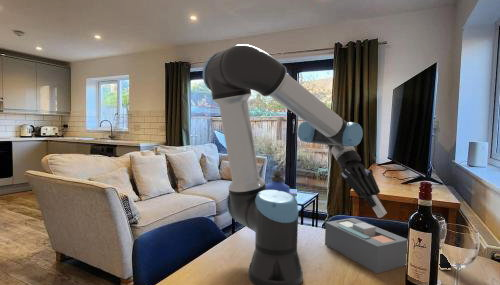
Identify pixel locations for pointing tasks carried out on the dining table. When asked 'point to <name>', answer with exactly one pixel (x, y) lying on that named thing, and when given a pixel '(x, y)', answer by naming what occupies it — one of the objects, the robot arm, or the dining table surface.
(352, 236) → the grey boxy piece
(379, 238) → the terracotta key
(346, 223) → the ivory key
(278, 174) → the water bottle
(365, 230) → the grey key
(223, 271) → the dining table surface
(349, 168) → the robot arm
